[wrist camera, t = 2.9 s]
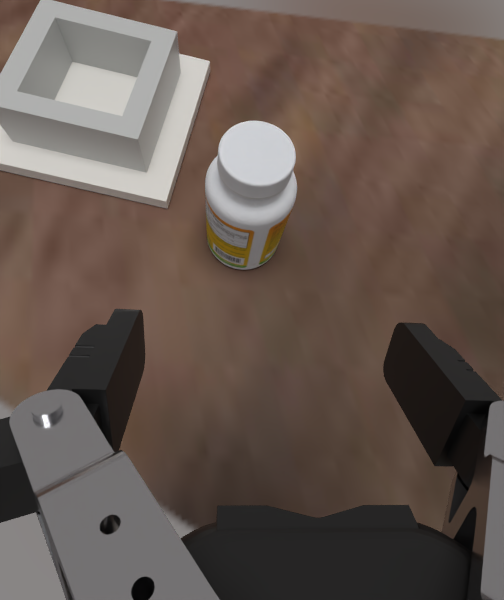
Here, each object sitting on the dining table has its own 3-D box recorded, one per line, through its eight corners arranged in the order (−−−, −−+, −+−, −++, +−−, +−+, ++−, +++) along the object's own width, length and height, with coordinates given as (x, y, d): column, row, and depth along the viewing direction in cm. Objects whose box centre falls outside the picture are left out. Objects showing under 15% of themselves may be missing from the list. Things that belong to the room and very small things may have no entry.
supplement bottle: (267, 201, 29) (294, 102, 20) (285, 264, 28) (323, 188, 18) (199, 212, 28) (194, 114, 19) (214, 277, 27) (216, 205, 17)
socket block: (210, 71, 32) (209, 19, 28) (167, 208, 28) (159, 171, 24) (50, 32, 32) (24, -28, 27) (-19, 166, 27) (-61, 120, 23)
